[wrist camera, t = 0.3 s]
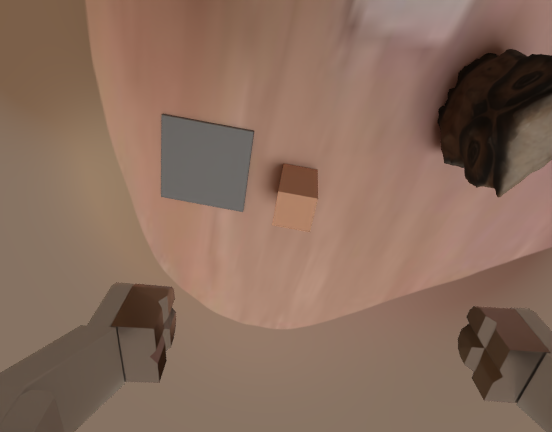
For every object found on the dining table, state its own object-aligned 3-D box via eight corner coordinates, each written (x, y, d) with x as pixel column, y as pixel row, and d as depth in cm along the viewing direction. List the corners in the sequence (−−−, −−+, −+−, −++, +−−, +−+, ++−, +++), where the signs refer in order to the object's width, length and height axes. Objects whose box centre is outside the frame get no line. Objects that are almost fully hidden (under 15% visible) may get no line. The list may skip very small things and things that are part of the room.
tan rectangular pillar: (283, 163, 59) (278, 191, 50) (317, 169, 59) (317, 198, 50) (278, 193, 61) (272, 225, 53) (310, 199, 61) (309, 232, 53)
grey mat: (163, 113, 57) (161, 114, 56) (254, 130, 57) (253, 132, 56) (162, 195, 64) (161, 196, 63) (243, 210, 64) (242, 211, 63)
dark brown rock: (433, 153, 56) (486, 221, 38) (418, 68, 50) (472, 103, 33) (526, 126, 53) (629, 187, 35) (521, 32, 47) (641, 51, 30)
